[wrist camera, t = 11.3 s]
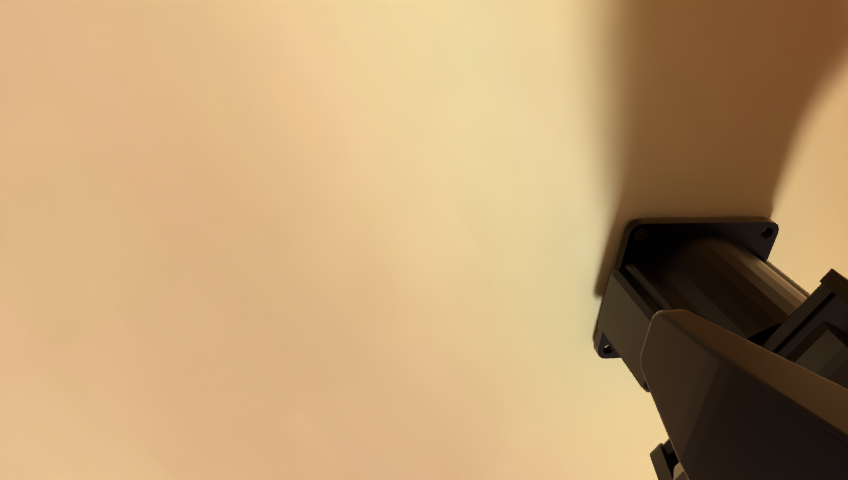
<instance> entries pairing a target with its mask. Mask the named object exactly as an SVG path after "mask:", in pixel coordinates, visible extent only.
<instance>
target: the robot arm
mask: <svg viewBox="0 0 848 480" xmlns="http://www.w3.org/2000/svg"><path fill="white" fill-rule="evenodd" d="M641 229H642V232H641V233H640V234H639V235H637V236H635V234H636V232H638V231H639V230H641ZM764 229H766V230H765V231H764V232H763V230H764ZM778 231H779V227H778V225H777V224H776V223H775V222H773V221H772V220H771V219H769V218H765V217H756V218H655V219H635V220H633V221H631V222H630V223H629V224H628V225H627V226H626V228H625V230H624V234H623V237H622V241H621V245H620V248H619V252H618V256H617V260H616V263H615V267H614V270H613V272H612V273H611V275H610V278H609V282H608V285H607V289H606V293H605V296H604V300H603V304H602V308H601V311H600V315H599V319H598V325H599V326H598V330H597V334H596V338H595V341H594V349H595V351H596V352H597V354H598V355H599V357H601V358H606V359H607V358H622V360H623V361H624V363H625V364H626V366H627V367H628V368H629V370H630V371H631V373H632V374H633V376H634V377H635V378H636V380H637V381H638V383H639V384H640V386H641V387H642V388H643V389H644V390H645V391H646V392H650V393H651V395H652V397H653V400H654V402H655V405H656V407H657V410H658V412H659V414H660V417H661V419H662V422H663V424H664V427H665V429H666V432H667V434H668V436H669V439H668V440H667V441H666V442H665V443H664V444H662V443H660V444H659V445H658V446H657V447H656V448H655V449H654V450H653V451H652V452H651V453H650V457H651V460H652V463H653V466H654V469H655V471H656V474H657V477H658V480H848V279H847V278H846V277H844V276H843V275H841V274H840V273H838V272H837V271H835V270H834V269H831V270H830V271H829V272H828V273H827V274H826V275H825V276H824V277H823V278H822V279H821V280H820V282H821V283H822V284H821V285H820V286H819V287H818V288H817V289H816V290H815V291H814V292H813V293H812V294H811V295H810V294H809V293H808V292H806V291H805V290H804V289H803V288H801V287H800V286H799V285H798V284H796V283H795V282H794V281H793V280H791V279H790V278H789V277H787V276H786V275H785V274H784V273H782V272H781V271H780V270H779V269H777V268H776V267H775V266H774V265H772V264H771V263H770V262H769V261H767V259H768V257H769V254H770V252H771V249H772V247H773V244H774V242H775V239H776V237H777V234H778ZM762 232H763V233H762ZM607 345H609V346H607ZM605 346H607V347H606V348H604V347H605Z"/></svg>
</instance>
